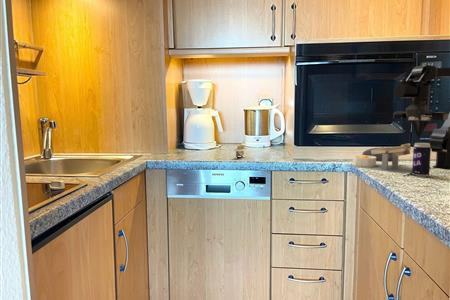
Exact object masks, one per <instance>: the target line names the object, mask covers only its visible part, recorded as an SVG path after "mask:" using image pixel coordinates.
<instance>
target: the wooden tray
mask: <svg viewBox="0 0 450 300" xmlns="http://www.w3.org/2000/svg"><path fill="white" fill-rule="evenodd" d="M378 148H379V149H374V150H371V154H380V153H391V152H395V154H396V156H398V157H401V156H408V155H411V151H412V148H411V143H404V144H401V145H400V146H389V148H386V147H384V148H380V147H378Z"/></svg>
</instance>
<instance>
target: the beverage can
mask: <svg viewBox="0 0 450 300" xmlns="http://www.w3.org/2000/svg"><path fill="white" fill-rule="evenodd" d="M412 150H413V151H412V167H411V168H412V171H411V173H413V174H412V175H414V176H415V177H423V178H425V177H427V176H428V175H430V169H431V155H432V154H431V153H432V150H431V146H430V142H429V143H428V142H414V145H413V149H412Z"/></svg>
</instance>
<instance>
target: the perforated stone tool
mask: <svg viewBox="0 0 450 300" xmlns="http://www.w3.org/2000/svg"><path fill="white" fill-rule="evenodd" d="M389 147H390V146H389ZM389 147H388V146H387V147H384V146H382V147H373V148H369V149H365V150H364V151H363V152H362V153H361V155H367V156H374V157H376V162H378V161H381V162H382V154H387V155H389V156H388V162H392V153H393V152H391V153H380V154H371V150H374V149H379V148H389Z"/></svg>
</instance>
